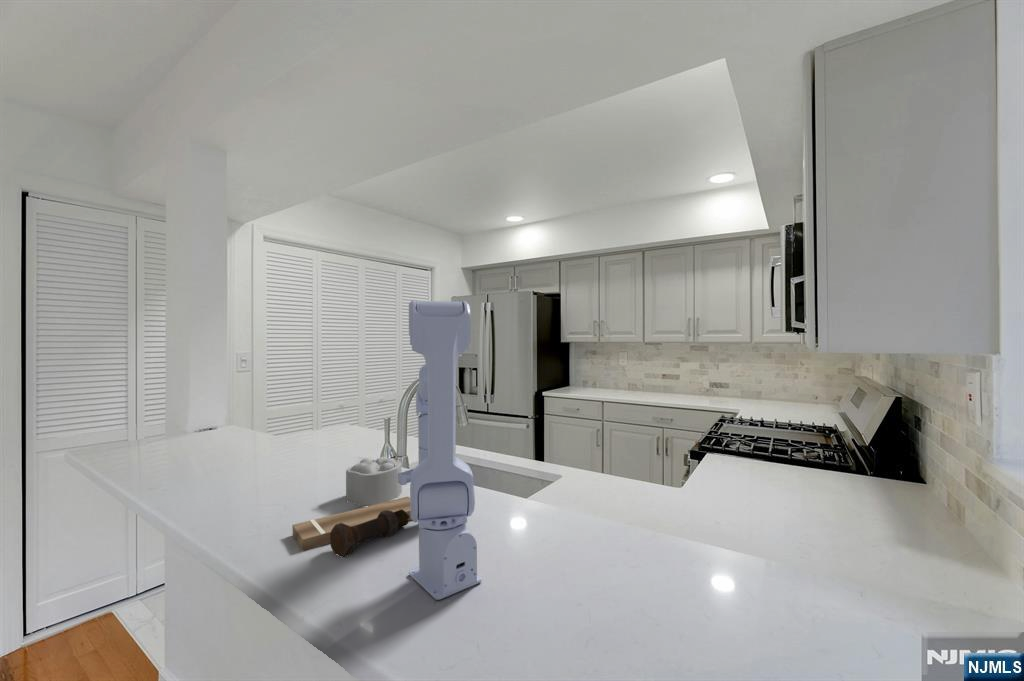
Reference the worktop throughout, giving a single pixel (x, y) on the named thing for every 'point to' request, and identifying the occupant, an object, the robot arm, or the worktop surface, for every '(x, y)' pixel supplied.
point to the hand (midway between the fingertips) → (432, 512)
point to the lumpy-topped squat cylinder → (373, 481)
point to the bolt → (366, 531)
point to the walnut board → (321, 528)
